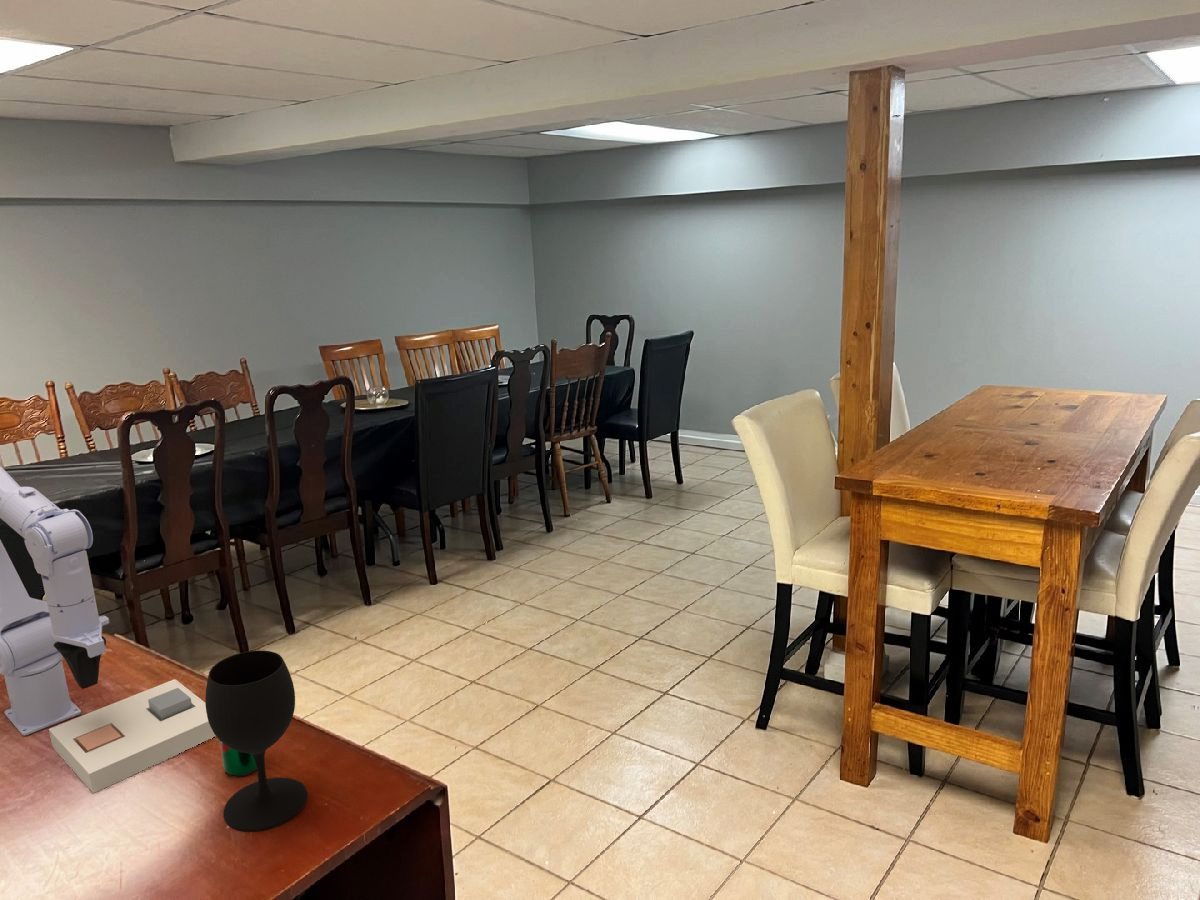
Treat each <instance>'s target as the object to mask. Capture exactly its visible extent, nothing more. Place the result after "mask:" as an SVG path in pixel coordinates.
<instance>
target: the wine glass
mask: <svg viewBox="0 0 1200 900" xmlns="http://www.w3.org/2000/svg"><path fill="white" fill-rule="evenodd" d="M206 681H207V682H206V687H205V698H204V699H205V701H204V702H205V704H206V713H207V718H208V721H209V724H210V727H211V729H212V730H213V732H214V734H215V735H216V737H215V738H217V739H218V740H220V741H221V742H222V743H224V744H225V745H226V746H228V747H230V748H232V749H234V750H237V751H240V752H243V753H249V754H252V755H253V757H254V760H255V764H256V768H257V769H256V772H257V779H258V780H257V781H255V782H252V783H250V784H248V785H245V786H244V787H242V788H241V789H239V790H238V791H236V792H235V793H234V794H233V795H232V796H231V797H230V798H228V800H227V801H226V804H225V805H224V807H223V812H222V813H223V814H222V815H223V820H224V822H225V824H226V825H228V826H229V827H230V828H232V830H236V831H240V832H241V831H242V832H248V833H249V832H250V833H253V832H261V831H267V830H270V829H274V828H276V827H279V826H282V825H283V824H285V823H287V822H289V821H290V820H292V819H293V818H294V817H296V816H297V815H298V814H300V812H301V811H302V810H303V808H304V807H305V805H306V803H307V801H308V790H307V788H306V786H305V785H304V784H303V783H302V782H301V781H299V780H297V779H294V778H291V777H283V776H281V777H279V776H278V777H270V778H267V772H266V763H265V758H266V757H265V755H266V751H267V750H268V749H270V748H271V747H272V746H273V745H275V744H276V743H277V742H278V741H280V739H281V737H283V735H284V734H285V733H286V732H287V729H288V728H289V726H290V724H291V722H292V720H293V717H294V714H295V709H296V692H295V691H296V690H295V686H294V683H293V678H292V675H291V673H290V670H289V668H288V666H287V663H286V662H285V660H284V658H283V657H282V655H280V654H279V653H277V652H274V651H272V650H271V651H270V650H261V649H260V650H258V649H257V650H249V651H243V652H239V653H236V654H233V655H230V656H227V657H226V658H224V659H222V660H219V661H218V662H217V663H216V664H214V665H213V666H212V667H211V668H210V670H209V672H208V677H207V680H206ZM220 741H219V742H220Z"/></svg>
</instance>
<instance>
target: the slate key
mask: <svg viewBox="0 0 1200 900" xmlns="http://www.w3.org/2000/svg"><path fill="white" fill-rule="evenodd" d="M148 702H149V708H150V712H151V713H152V714H153V715H155V716H156V717H157V718H158V719H159V720H160V721H163V720H165V719H167V718H170V717H172V716H175V715H177V714H179V713H182V712H184V711H186V710H189V709H191V708H192V704H191V698H190V697H189V696H188V695H186V694H185V693H184V692H183V691H181V690H180V689H179V688H176V689H173V690H171V691H169V692H166V693H164V694H161V695H159V696H156V697H154V698H151V699H149V700H148Z"/></svg>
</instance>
